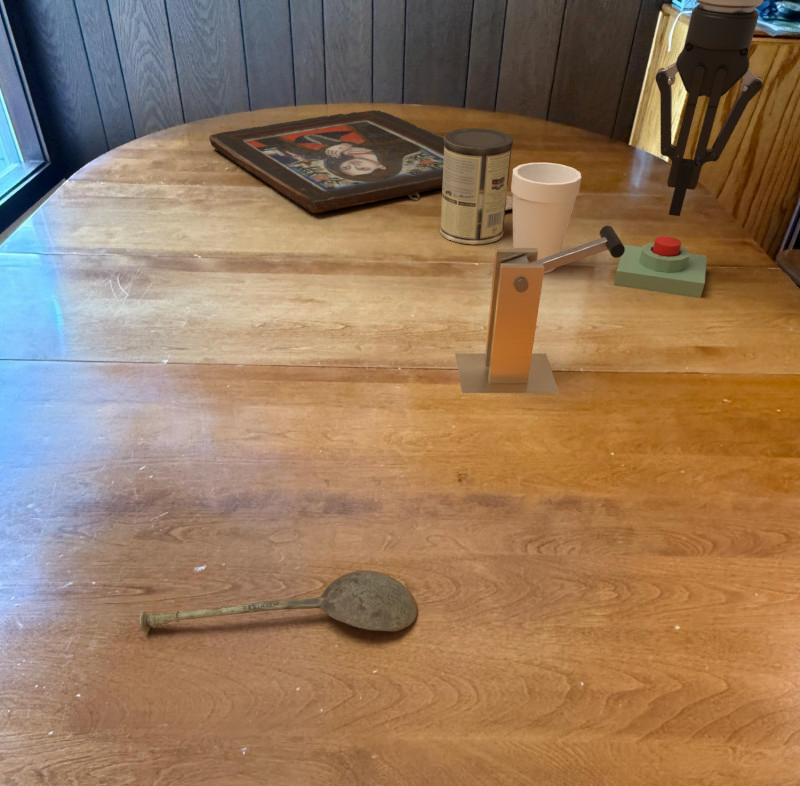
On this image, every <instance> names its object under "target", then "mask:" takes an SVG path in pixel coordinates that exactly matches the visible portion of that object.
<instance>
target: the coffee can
mask: <svg viewBox="0 0 800 786" xmlns="http://www.w3.org/2000/svg"><path fill="white" fill-rule="evenodd" d="M443 138H444V163H443V186H442V188H441V190H442V191H441V211H440V228H439V233H440V234H441V236H442V237H443V238H444V239H446V240H448V241H450V240H451V242H453V243H458V244H463V245H487V244H490V243H491V244H492V243H494V242H497V241H498V240H500V239H501V238H503V237H504V227H505V219H506V218H505V216H506V211H505V208H506V198H507V196H508V186H509V177H510V166H511V158H512V157H511V156H512V146H513V145H514V138H513V136H511V134H508V133H506V132H503V131H501V130H496V129H490V128H479V127H477V128H475V127H474V128H473V127H471V128H461V129H455V130H452V131H449V132H447V133H445V134H444V136H443Z"/></svg>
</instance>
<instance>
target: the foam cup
mask: <svg viewBox="0 0 800 786" xmlns="http://www.w3.org/2000/svg"><path fill="white" fill-rule="evenodd" d="M581 182H582V174H581V171H579V170H577V169H576V168H575V167H572V166H568V165H564V164H560V163H553V162H544V161H543V162H529V163H528V162H527V163H523V164H519V165H517V166H516V167H514V168H512V175H511V185H510V192H511V193H512V197H513V209H512V248H537V250H538V257H537V260H540V259H543V258H546V257H549V256H552V255H554V254H557V253H560V252H562V249H563V245H564V241H565V238H566V234H567V231H568V227H569V224H570V221H571V217H572V213H573V210H574V207H575V203H576V200H577V197H578V196H579V194H580V189H581ZM555 269H556V268H554V269H551V270H548V271H545V272H544V274H548V273H551V272H553V271H554V270H555Z"/></svg>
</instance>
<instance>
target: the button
mask: <svg viewBox="0 0 800 786" xmlns="http://www.w3.org/2000/svg"><path fill="white" fill-rule="evenodd" d="M653 242H654V246H653V251H652V252H653V253H654V254H657V255H660V256H665V257H676V256H678V254H679V250H680V246H682V241H681V240H680V239H678V238H677V237H676V238H675V237H672V236H658V237H656V238H655V239H654V241H653Z"/></svg>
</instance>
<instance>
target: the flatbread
mask: <svg viewBox="0 0 800 786" xmlns="http://www.w3.org/2000/svg"><path fill="white" fill-rule="evenodd" d="M511 210H513V195H507V198H506V208H505V212H507V211H511Z"/></svg>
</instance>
